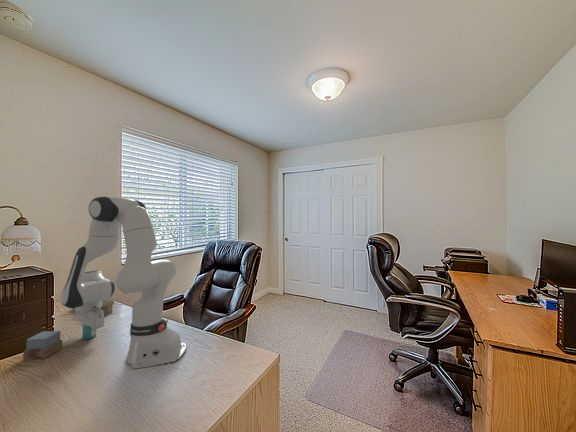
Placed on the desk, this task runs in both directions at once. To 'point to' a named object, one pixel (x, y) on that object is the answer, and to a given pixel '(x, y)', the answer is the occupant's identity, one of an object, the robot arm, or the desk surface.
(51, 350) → the walnut base block
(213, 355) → the desk surface
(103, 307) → the block tower
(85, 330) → the teal cylinder
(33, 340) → the slate-grey upper block
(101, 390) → the desk surface
